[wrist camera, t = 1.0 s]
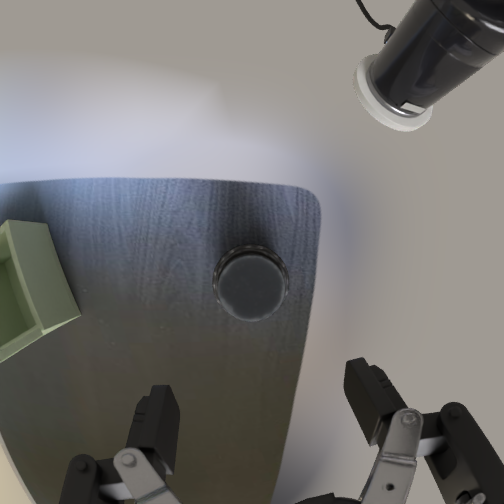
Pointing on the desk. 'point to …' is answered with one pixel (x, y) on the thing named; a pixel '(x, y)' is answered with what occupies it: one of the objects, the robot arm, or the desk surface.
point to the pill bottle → (250, 282)
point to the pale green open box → (31, 283)
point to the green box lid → (20, 344)
